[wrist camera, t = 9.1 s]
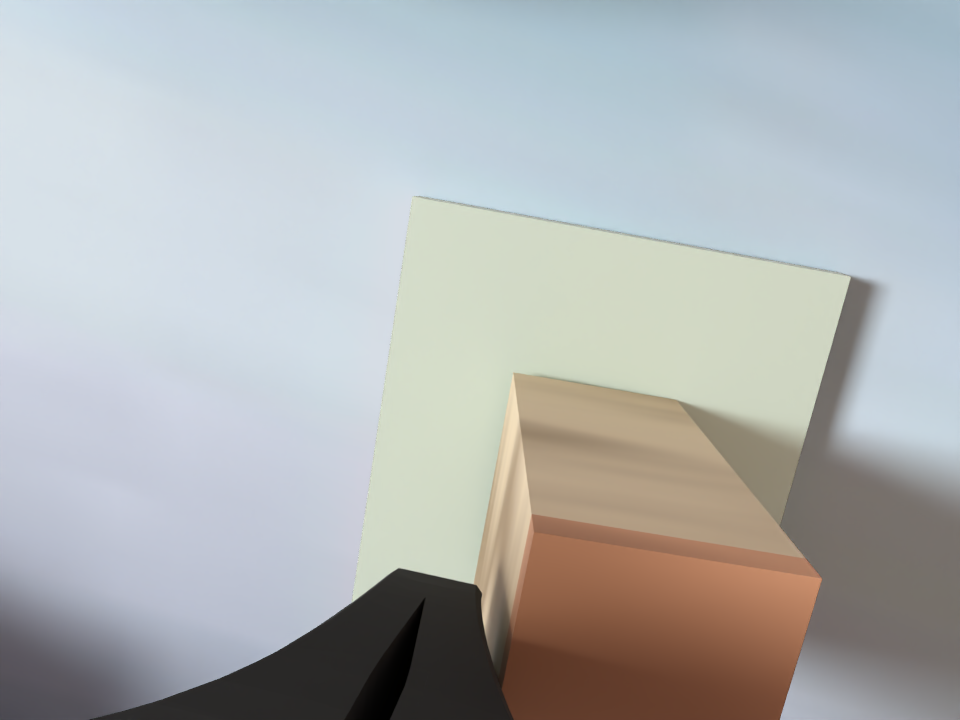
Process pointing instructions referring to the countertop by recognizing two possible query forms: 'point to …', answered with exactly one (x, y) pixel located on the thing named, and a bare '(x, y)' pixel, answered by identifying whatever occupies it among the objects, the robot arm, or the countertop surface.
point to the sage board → (576, 361)
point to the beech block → (632, 566)
